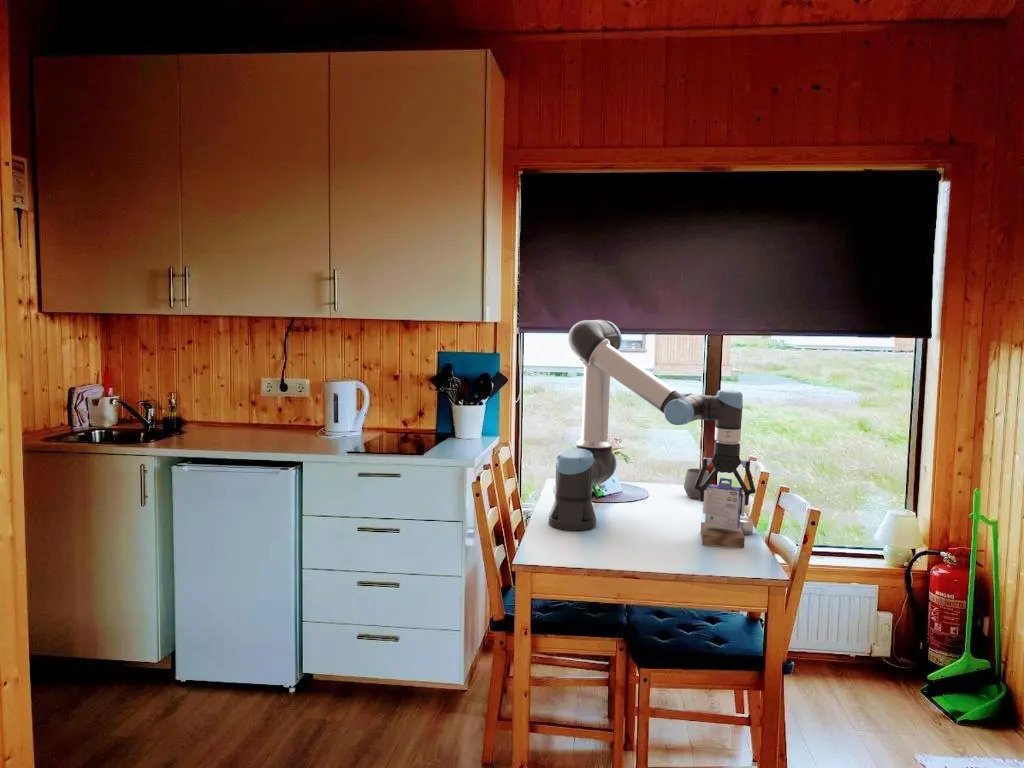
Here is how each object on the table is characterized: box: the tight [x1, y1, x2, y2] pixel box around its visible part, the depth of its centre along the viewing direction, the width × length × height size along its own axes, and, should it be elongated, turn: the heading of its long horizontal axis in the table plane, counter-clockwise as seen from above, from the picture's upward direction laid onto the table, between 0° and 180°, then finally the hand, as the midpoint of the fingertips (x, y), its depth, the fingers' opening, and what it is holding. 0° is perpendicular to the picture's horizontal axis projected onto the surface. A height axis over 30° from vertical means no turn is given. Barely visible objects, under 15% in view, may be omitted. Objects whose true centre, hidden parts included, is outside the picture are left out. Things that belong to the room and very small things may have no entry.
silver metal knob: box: [740, 517, 754, 536], centre depth 252 cm, size 6×6×4 cm
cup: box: [683, 468, 711, 500], centre depth 295 cm, size 10×9×10 cm
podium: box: [700, 521, 746, 549], centre depth 243 cm, size 12×14×3 cm
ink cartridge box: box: [704, 477, 743, 530], centre depth 242 cm, size 10×6×14 cm, turn 65°
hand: (723, 513), depth 243 cm, fingers closed on ink cartridge box, 10 cm apart
